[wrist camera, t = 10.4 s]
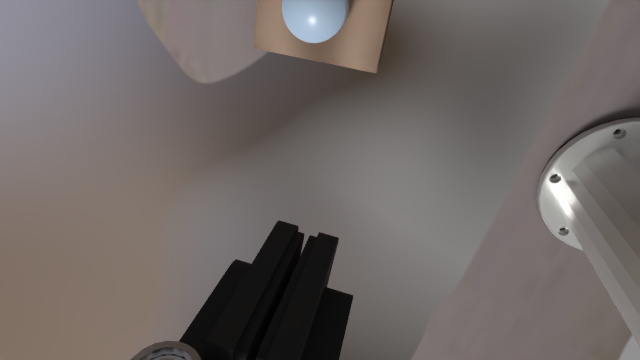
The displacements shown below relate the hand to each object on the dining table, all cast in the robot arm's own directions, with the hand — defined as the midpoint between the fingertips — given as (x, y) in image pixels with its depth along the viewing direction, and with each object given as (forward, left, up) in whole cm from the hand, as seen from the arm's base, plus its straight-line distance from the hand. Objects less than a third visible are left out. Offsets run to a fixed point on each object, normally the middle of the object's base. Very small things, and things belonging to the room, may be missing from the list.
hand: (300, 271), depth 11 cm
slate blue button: (+5, -4, -22) cm, 23 cm away
